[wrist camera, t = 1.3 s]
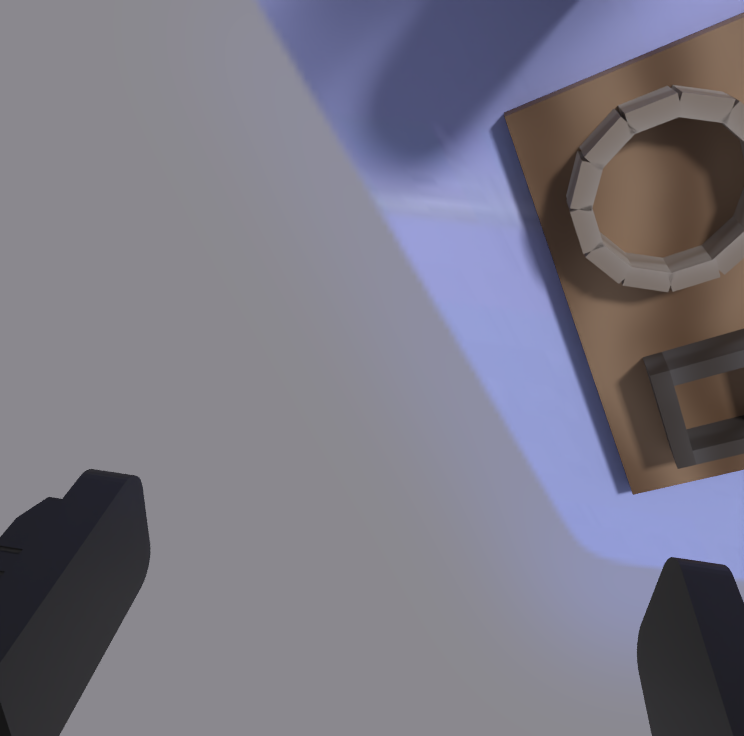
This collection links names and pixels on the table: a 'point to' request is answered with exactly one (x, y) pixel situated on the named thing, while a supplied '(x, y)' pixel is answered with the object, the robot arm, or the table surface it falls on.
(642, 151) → the socket board
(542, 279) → the table surface
